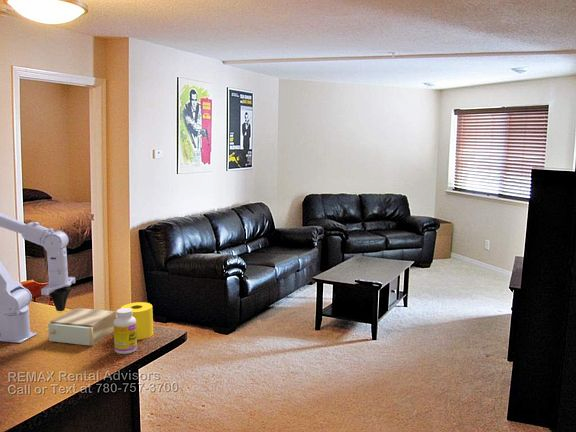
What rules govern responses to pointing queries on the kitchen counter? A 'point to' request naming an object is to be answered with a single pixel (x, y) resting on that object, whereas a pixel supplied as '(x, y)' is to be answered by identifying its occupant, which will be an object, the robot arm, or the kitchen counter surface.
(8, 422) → the kitchen counter surface
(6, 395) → the kitchen counter surface
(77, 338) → the door
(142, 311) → the yellow toilet paper roll
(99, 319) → the cabinet
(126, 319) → the supplement bottle
